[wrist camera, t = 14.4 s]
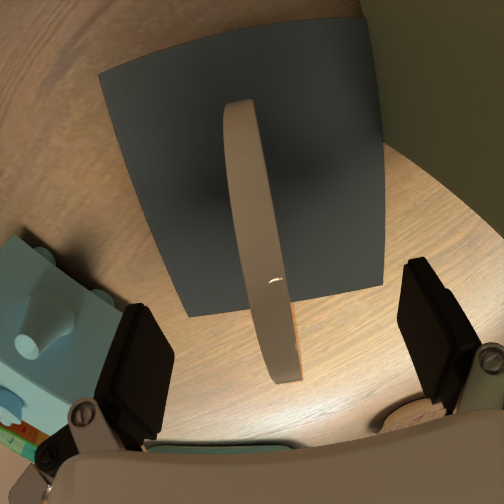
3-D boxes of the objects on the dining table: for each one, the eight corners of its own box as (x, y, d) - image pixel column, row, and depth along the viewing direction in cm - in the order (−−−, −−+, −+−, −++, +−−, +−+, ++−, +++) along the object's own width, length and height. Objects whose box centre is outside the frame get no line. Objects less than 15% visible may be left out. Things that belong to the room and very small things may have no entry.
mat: (101, 74, 17) (97, 74, 17) (362, 17, 15) (366, 16, 15) (189, 313, 29) (188, 317, 29) (380, 281, 27) (382, 285, 27)
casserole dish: (163, 470, 60) (160, 495, 54) (116, 434, 48) (109, 466, 42) (319, 465, 56) (322, 492, 50) (317, 429, 44) (322, 468, 38)
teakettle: (-23, 230, 24) (-103, 322, 11) (115, 213, 23) (20, 361, 11) (41, 350, 34) (3, 439, 22) (165, 363, 34) (143, 482, 21)
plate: (232, 88, 18) (200, 154, 6) (251, 84, 18) (258, 142, 6) (272, 265, 26) (287, 431, 14) (286, 262, 25) (310, 428, 14)
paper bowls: (377, 401, 40) (388, 447, 33) (461, 377, 39) (478, 416, 32) (363, 438, 48) (370, 474, 41) (435, 418, 47) (445, 451, 40)
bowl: (20, 419, 52) (9, 451, 43) (-20, 367, 40) (-39, 405, 31) (98, 447, 54) (90, 484, 46) (69, 402, 42) (53, 450, 33)
